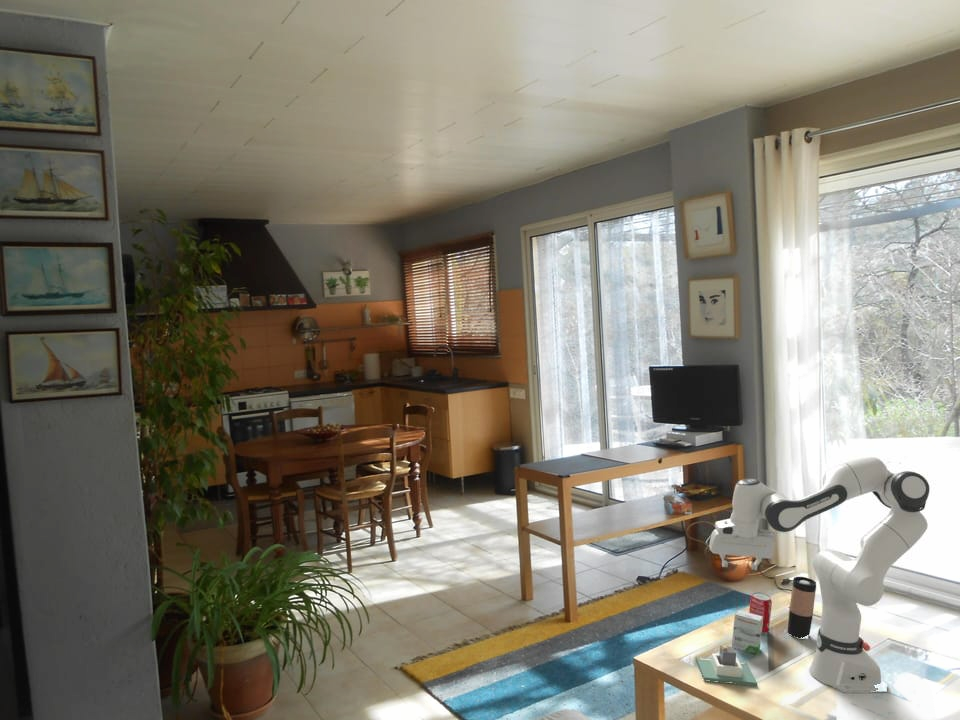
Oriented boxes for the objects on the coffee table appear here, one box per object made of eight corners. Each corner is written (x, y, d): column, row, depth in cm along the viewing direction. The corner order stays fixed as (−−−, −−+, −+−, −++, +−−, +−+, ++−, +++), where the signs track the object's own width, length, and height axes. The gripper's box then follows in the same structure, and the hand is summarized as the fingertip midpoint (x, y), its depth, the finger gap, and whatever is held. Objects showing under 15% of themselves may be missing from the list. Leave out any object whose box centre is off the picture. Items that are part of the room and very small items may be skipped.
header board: (746, 665, 240) (747, 653, 239) (756, 686, 228) (758, 673, 228) (695, 660, 241) (697, 648, 241) (703, 680, 229) (705, 668, 229)
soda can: (770, 636, 261) (774, 601, 259) (748, 633, 262) (752, 598, 260) (766, 627, 268) (770, 593, 266) (745, 624, 269) (749, 590, 267)
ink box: (760, 649, 252) (764, 616, 250) (757, 655, 247) (761, 621, 246) (733, 641, 256) (737, 608, 254) (730, 647, 252) (734, 614, 250)
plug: (730, 667, 236) (733, 644, 235) (734, 674, 232) (736, 650, 231) (718, 666, 236) (720, 643, 235) (721, 672, 232) (723, 649, 231)
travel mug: (781, 630, 266) (788, 577, 264) (799, 628, 269) (806, 575, 266) (796, 640, 259) (803, 586, 256) (814, 638, 261) (821, 584, 259)
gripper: (773, 527, 246) (768, 567, 248) (710, 521, 248) (706, 561, 249) (779, 534, 240) (774, 574, 241) (714, 528, 241) (710, 568, 243)
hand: (739, 567), depth 245 cm, fingers open, 8 cm apart
